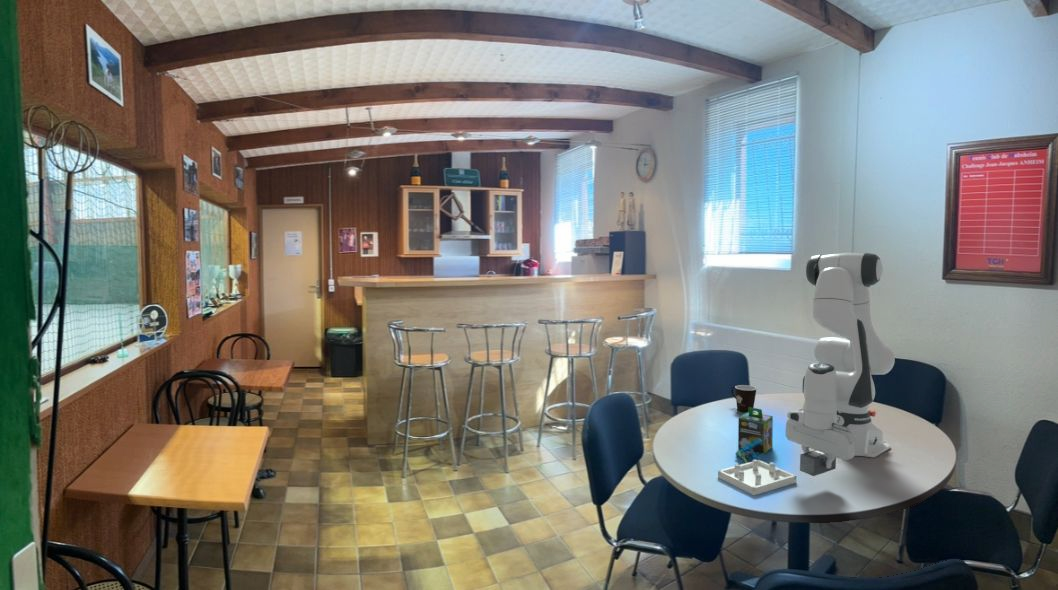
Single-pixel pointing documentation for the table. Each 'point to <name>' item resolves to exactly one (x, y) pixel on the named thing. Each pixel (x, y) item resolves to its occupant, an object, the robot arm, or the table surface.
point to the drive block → (815, 463)
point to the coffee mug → (744, 397)
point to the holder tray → (751, 478)
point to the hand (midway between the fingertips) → (817, 463)
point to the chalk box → (755, 430)
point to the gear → (749, 449)
